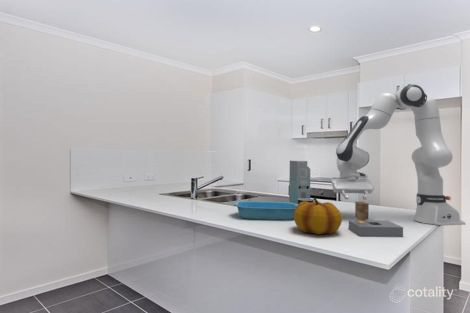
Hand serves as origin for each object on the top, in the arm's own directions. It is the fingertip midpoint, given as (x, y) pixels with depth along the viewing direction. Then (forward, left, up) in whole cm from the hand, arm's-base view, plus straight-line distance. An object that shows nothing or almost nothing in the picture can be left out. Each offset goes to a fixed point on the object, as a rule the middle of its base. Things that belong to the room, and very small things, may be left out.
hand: (356, 198), depth 156 cm
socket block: (0, +21, -12) cm, 24 cm away
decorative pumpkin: (+25, +20, -12) cm, 34 cm away
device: (+23, -29, -12) cm, 39 cm away
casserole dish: (+44, -11, -12) cm, 47 cm away
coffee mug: (+23, -9, -12) cm, 27 cm away
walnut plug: (0, +7, -12) cm, 14 cm away
